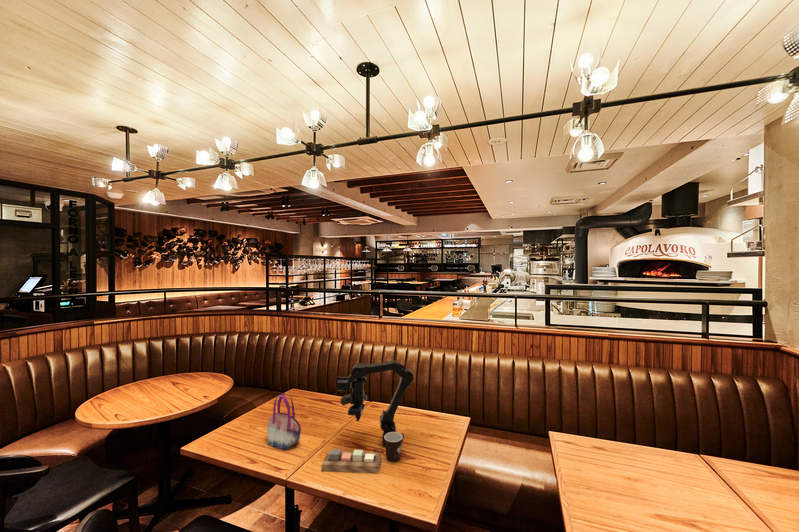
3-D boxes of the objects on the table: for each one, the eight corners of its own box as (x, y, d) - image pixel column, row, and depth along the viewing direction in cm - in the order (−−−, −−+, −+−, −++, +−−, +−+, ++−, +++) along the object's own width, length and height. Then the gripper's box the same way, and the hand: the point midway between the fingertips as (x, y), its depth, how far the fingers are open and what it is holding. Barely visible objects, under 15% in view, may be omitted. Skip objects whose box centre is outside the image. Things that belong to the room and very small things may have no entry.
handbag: (260, 443, 158) (260, 394, 158) (275, 433, 167) (275, 387, 167) (292, 453, 150) (292, 401, 149) (306, 443, 159) (306, 394, 159)
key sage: (363, 458, 143) (363, 450, 143) (361, 464, 139) (361, 455, 139) (354, 458, 143) (354, 449, 143) (352, 463, 139) (352, 455, 139)
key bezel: (381, 459, 145) (380, 452, 145) (378, 473, 135) (378, 466, 135) (328, 457, 147) (328, 451, 147) (321, 471, 137) (321, 464, 137)
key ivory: (374, 462, 142) (374, 453, 142) (373, 468, 138) (373, 459, 138) (365, 462, 143) (365, 453, 143) (364, 467, 139) (364, 458, 139)
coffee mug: (389, 466, 140) (389, 443, 140) (381, 455, 148) (381, 434, 148) (411, 458, 146) (411, 437, 146) (402, 449, 153) (402, 428, 153)
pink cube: (351, 461, 143) (351, 452, 143) (349, 467, 139) (349, 458, 139) (343, 461, 143) (343, 452, 143) (341, 466, 139) (341, 458, 139)
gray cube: (340, 457, 143) (340, 449, 143) (338, 463, 139) (338, 454, 139) (332, 457, 144) (332, 448, 144) (329, 463, 140) (329, 454, 140)
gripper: (346, 382, 167) (346, 411, 167) (337, 397, 148) (337, 430, 148) (367, 383, 166) (367, 412, 166) (360, 398, 147) (360, 431, 148)
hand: (358, 420), depth 157 cm, fingers closed
